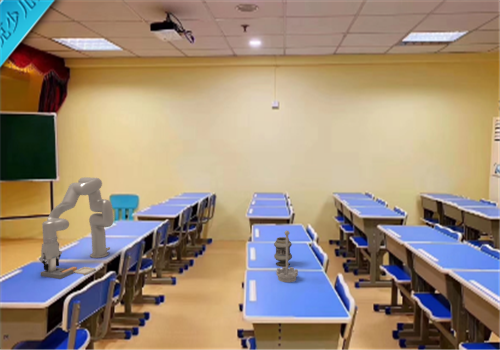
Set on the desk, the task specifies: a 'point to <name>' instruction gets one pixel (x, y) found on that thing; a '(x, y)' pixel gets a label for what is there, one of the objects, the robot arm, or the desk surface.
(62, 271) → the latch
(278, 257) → the apothecary jar
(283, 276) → the flag stand
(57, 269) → the grey holder base
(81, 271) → the tray
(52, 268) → the cylinder
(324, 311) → the desk surface
